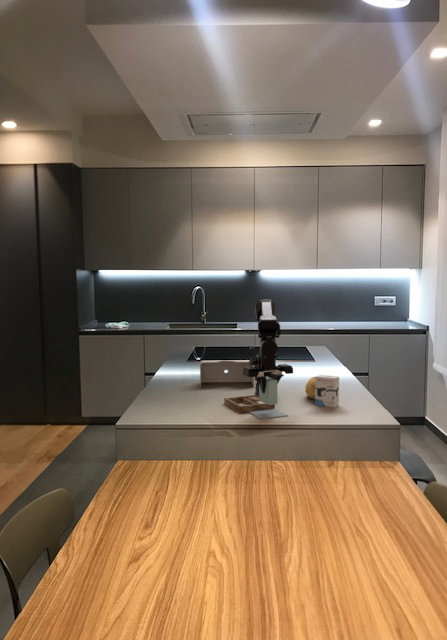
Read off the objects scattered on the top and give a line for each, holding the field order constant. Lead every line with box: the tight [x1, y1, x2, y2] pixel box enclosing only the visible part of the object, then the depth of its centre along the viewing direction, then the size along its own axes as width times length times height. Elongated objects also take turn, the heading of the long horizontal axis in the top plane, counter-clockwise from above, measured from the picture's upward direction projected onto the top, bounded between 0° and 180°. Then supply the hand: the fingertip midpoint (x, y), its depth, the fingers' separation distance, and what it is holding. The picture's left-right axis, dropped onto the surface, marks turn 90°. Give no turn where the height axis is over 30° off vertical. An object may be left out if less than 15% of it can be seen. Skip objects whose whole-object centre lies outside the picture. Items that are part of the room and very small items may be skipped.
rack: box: [223, 394, 276, 414], centre depth 204 cm, size 15×15×2 cm
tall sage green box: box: [258, 377, 278, 405], centre depth 191 cm, size 4×8×9 cm, turn 23°
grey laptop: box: [199, 359, 255, 388], centre depth 242 cm, size 25×16×12 cm, turn 92°
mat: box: [248, 408, 289, 420], centre depth 192 cm, size 11×11×1 cm
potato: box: [305, 375, 318, 400], centre depth 215 cm, size 10×14×10 cm
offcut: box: [248, 397, 259, 403], centre depth 207 cm, size 3×5×2 cm, turn 37°
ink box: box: [314, 374, 340, 409], centre depth 204 cm, size 8×5×12 cm, turn 60°
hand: (268, 393), depth 191 cm, fingers closed on tall sage green box, 3 cm apart
